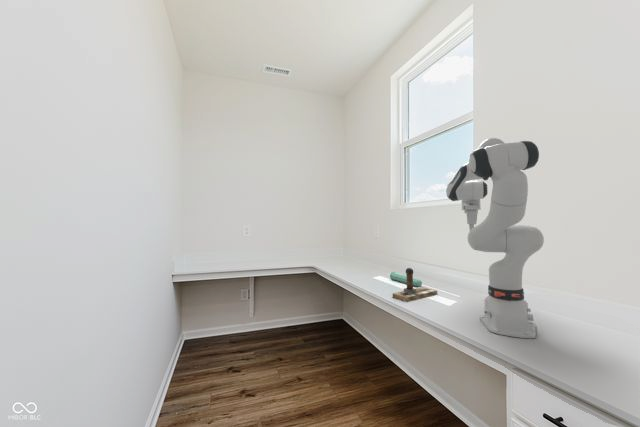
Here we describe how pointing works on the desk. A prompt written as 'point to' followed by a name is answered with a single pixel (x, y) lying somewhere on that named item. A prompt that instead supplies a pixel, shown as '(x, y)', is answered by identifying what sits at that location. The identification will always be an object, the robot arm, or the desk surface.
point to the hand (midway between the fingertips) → (471, 232)
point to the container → (405, 279)
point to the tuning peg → (410, 282)
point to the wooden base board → (421, 294)
